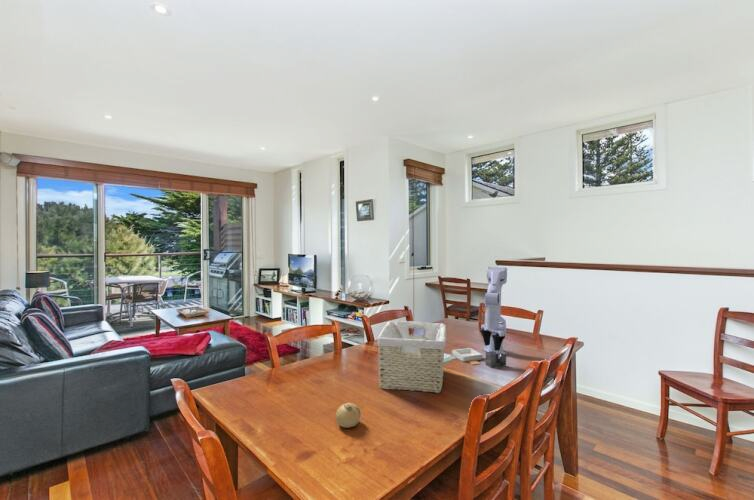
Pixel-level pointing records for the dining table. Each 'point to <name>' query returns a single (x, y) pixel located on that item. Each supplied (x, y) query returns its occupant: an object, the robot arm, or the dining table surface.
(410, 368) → the basket
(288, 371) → the dining table surface
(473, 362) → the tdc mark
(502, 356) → the crank
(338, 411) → the onion
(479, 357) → the tray
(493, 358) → the stop block
